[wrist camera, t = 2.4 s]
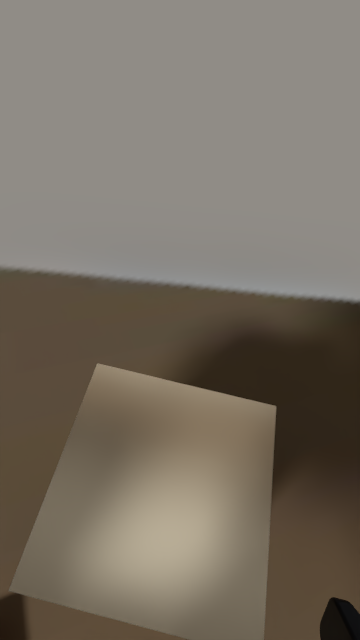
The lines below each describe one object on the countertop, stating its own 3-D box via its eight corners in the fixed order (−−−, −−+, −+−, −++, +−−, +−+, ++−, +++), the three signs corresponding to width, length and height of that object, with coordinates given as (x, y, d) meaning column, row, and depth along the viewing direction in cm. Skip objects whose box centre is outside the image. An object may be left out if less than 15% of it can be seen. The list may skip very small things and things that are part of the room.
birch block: (196, 593, 15) (262, 658, 7) (80, 563, 16) (8, 590, 7) (215, 466, 18) (276, 406, 10) (117, 442, 19) (97, 363, 10)
